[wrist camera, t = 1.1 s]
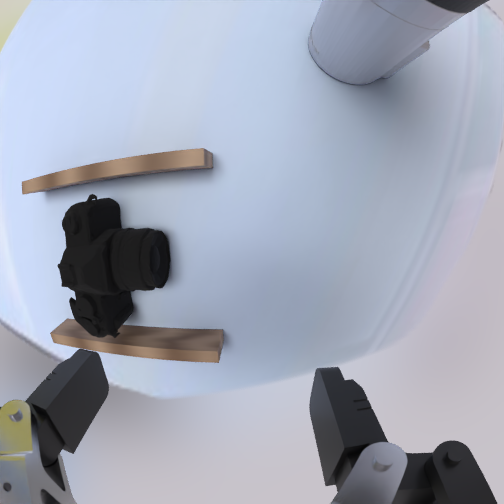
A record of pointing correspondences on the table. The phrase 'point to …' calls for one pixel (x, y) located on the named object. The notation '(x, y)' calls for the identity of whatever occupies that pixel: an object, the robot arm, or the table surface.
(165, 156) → the walnut chute
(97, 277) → the film camera
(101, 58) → the table surface
